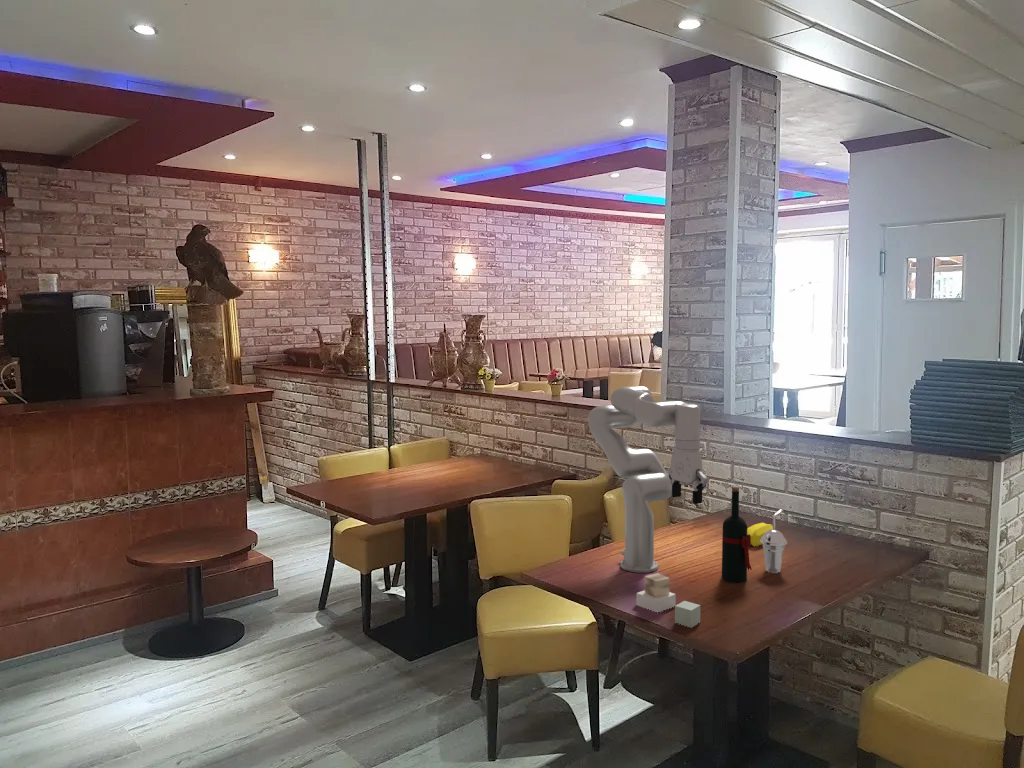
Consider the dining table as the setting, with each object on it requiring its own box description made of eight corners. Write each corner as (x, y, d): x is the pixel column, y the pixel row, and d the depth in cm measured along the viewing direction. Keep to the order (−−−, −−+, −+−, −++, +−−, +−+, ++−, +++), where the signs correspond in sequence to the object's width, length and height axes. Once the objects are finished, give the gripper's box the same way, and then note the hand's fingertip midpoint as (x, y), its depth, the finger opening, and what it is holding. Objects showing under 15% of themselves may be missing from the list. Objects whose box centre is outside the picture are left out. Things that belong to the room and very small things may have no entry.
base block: (636, 606, 218) (636, 592, 218) (654, 599, 223) (654, 586, 223) (657, 614, 212) (657, 600, 212) (675, 607, 217) (675, 594, 217)
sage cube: (674, 623, 205) (675, 605, 205) (684, 617, 209) (684, 600, 208) (691, 628, 202) (691, 610, 201) (700, 622, 205) (700, 605, 205)
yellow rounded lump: (736, 545, 275) (755, 550, 269) (737, 528, 274) (756, 532, 269) (761, 535, 287) (779, 539, 282) (761, 518, 287) (780, 522, 281)
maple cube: (644, 592, 218) (644, 576, 218) (658, 589, 221) (658, 573, 220) (655, 598, 214) (655, 581, 213) (669, 594, 216) (669, 578, 216)
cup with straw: (754, 567, 250) (755, 509, 248) (778, 565, 252) (779, 507, 250) (769, 576, 241) (770, 515, 240) (793, 573, 244) (794, 513, 242)
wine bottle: (742, 587, 232) (743, 492, 229) (716, 578, 240) (717, 486, 238) (758, 582, 236) (759, 489, 234) (732, 573, 245) (733, 483, 242)
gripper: (659, 441, 232) (659, 495, 234) (696, 450, 217) (695, 507, 218) (678, 439, 236) (678, 492, 237) (716, 448, 220) (715, 504, 222)
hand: (686, 499), depth 228 cm, fingers open, 9 cm apart
